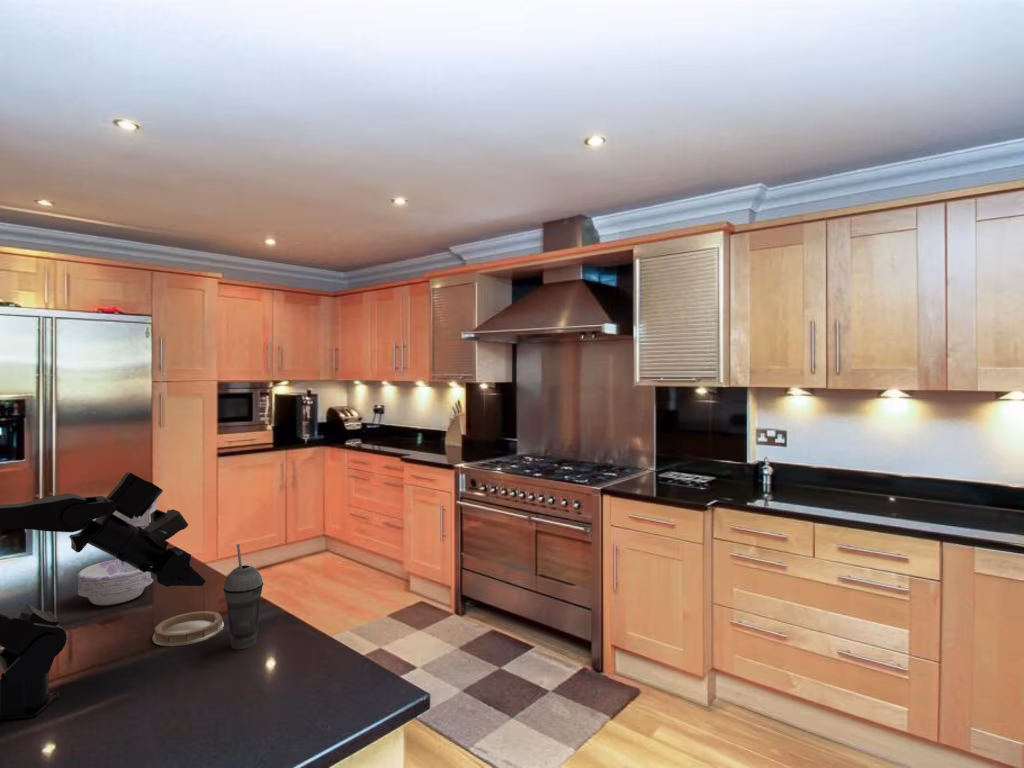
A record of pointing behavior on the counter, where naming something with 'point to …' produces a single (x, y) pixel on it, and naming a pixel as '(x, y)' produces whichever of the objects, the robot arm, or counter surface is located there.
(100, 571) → the paper bowls
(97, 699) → the counter surface
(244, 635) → the beverage cup
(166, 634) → the ring holder
